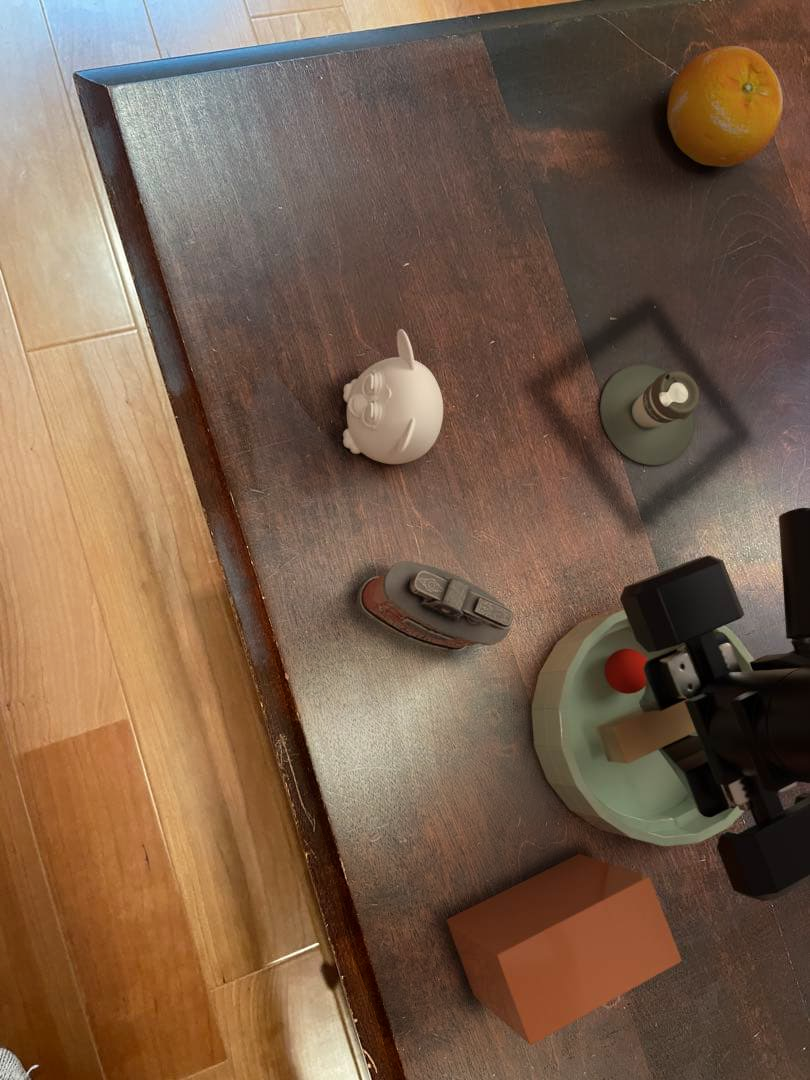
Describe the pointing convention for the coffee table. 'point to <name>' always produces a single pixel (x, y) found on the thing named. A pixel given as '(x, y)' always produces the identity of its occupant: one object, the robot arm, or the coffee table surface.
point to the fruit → (725, 106)
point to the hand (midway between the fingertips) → (653, 721)
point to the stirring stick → (643, 732)
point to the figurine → (393, 408)
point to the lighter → (434, 608)
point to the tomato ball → (626, 671)
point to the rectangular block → (563, 944)
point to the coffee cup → (649, 413)
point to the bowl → (578, 757)
